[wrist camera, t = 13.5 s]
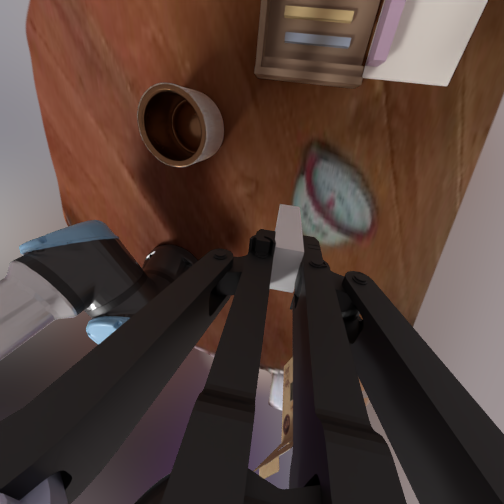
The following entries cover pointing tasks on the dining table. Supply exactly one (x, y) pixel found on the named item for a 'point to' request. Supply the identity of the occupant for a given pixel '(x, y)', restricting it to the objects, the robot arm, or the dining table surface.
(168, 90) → the planter
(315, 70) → the pencil case
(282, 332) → the dining table surface
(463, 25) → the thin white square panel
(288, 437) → the box
